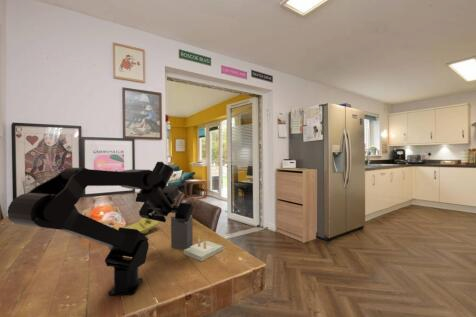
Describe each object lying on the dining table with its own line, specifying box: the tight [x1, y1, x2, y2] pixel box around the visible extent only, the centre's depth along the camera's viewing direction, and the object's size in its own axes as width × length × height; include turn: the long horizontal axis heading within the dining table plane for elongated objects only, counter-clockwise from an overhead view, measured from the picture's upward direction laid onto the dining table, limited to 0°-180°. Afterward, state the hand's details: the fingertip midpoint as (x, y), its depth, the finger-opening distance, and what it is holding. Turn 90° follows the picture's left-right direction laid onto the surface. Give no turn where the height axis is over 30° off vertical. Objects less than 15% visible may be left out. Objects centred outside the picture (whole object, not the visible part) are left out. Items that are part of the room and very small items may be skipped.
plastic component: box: [111, 217, 160, 234], centre depth 99 cm, size 20×7×10 cm
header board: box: [183, 238, 224, 262], centre depth 79 cm, size 11×9×4 cm
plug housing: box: [170, 214, 194, 250], centre depth 84 cm, size 4×7×12 cm, turn 73°
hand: (175, 222), depth 80 cm, fingers open, 9 cm apart
